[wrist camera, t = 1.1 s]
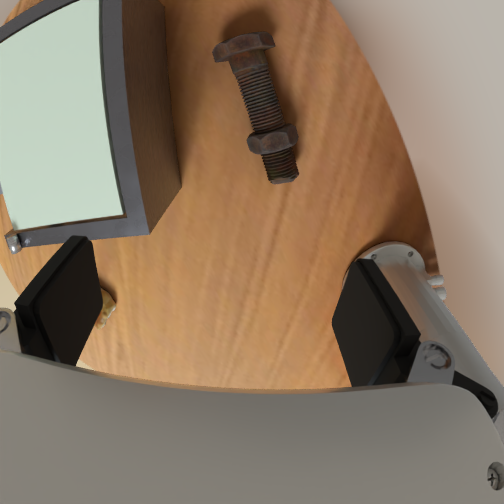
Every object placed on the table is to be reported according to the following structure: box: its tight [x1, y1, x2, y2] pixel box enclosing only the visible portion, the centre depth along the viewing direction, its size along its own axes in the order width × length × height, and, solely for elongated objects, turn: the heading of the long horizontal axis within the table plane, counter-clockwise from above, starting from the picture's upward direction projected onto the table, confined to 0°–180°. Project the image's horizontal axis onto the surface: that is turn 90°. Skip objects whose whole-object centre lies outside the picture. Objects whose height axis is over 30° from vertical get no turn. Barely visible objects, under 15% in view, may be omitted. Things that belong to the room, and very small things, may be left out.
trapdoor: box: [0, 0, 126, 231], centre depth 19 cm, size 21×17×6 cm
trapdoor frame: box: [0, 0, 182, 254], centre depth 21 cm, size 16×21×13 cm
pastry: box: [94, 287, 116, 330], centre depth 37 cm, size 9×7×4 cm
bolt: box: [212, 32, 299, 184], centre depth 26 cm, size 6×5×15 cm
